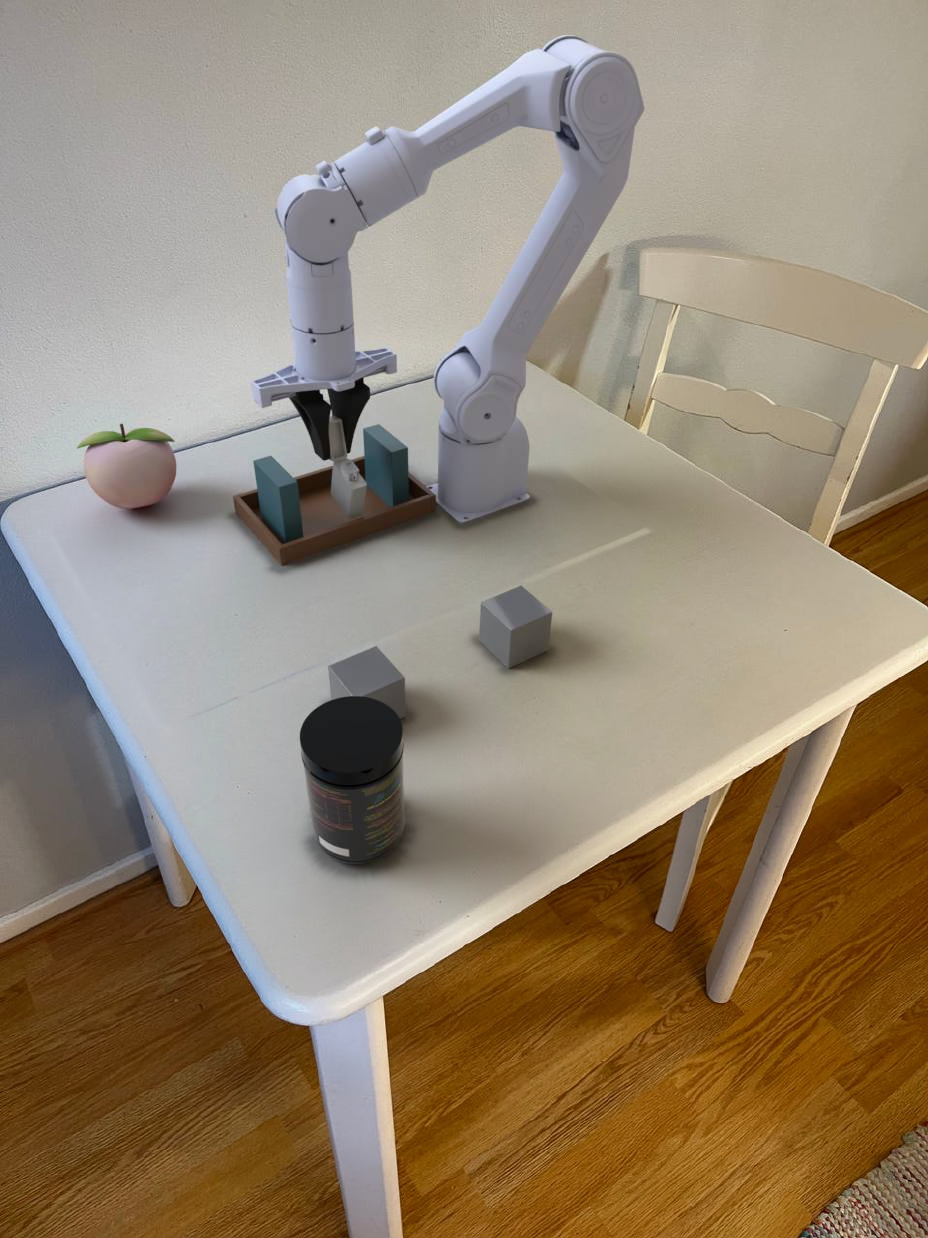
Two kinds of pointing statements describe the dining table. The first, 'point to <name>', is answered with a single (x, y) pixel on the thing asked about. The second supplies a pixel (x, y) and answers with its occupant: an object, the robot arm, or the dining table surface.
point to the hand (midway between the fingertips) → (332, 452)
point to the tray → (331, 515)
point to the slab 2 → (386, 465)
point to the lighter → (345, 473)
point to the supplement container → (354, 778)
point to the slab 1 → (278, 499)
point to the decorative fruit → (130, 466)
